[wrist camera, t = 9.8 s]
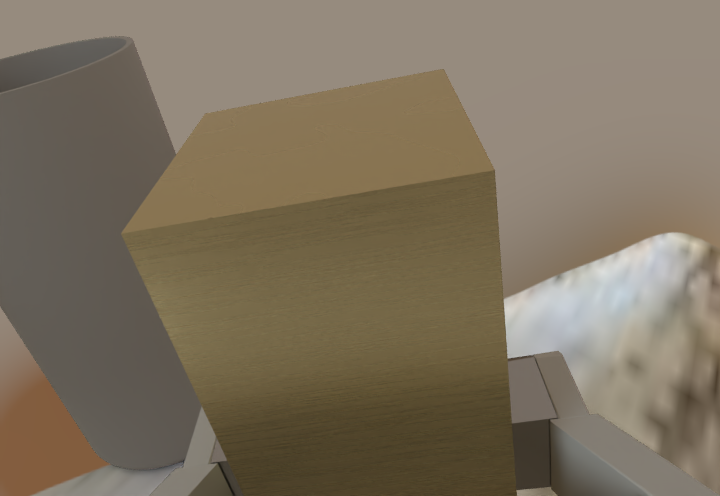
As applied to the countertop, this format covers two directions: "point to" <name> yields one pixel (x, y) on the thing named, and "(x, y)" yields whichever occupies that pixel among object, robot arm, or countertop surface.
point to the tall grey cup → (89, 245)
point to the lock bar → (339, 291)
